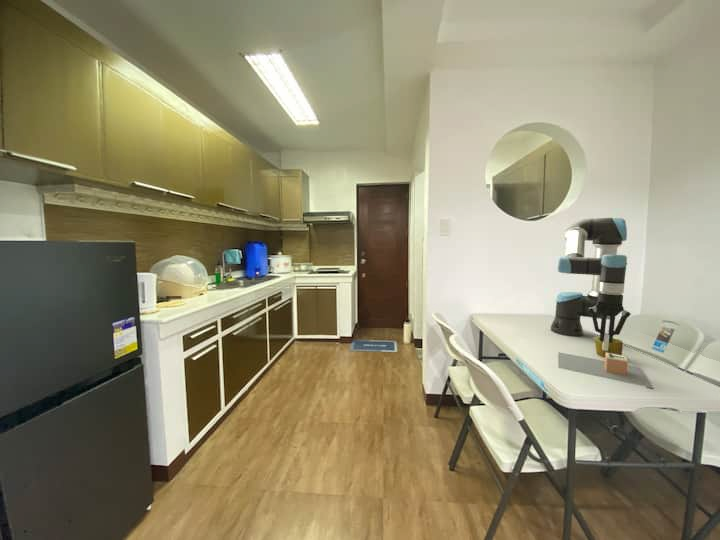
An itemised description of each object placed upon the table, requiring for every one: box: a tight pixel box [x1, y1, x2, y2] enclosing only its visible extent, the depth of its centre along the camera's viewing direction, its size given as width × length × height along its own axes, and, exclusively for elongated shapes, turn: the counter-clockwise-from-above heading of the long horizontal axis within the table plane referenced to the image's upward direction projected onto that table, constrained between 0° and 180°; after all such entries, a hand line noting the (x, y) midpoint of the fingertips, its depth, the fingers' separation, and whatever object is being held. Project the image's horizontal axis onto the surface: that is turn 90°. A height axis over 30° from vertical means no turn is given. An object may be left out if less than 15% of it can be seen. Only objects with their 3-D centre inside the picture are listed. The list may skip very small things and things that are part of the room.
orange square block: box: [604, 353, 629, 376], centre depth 114 cm, size 6×6×6 cm
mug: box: [593, 336, 624, 358], centre depth 130 cm, size 12×10×10 cm
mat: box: [557, 351, 654, 390], centre depth 117 cm, size 20×28×1 cm
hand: (604, 349), depth 115 cm, fingers closed
